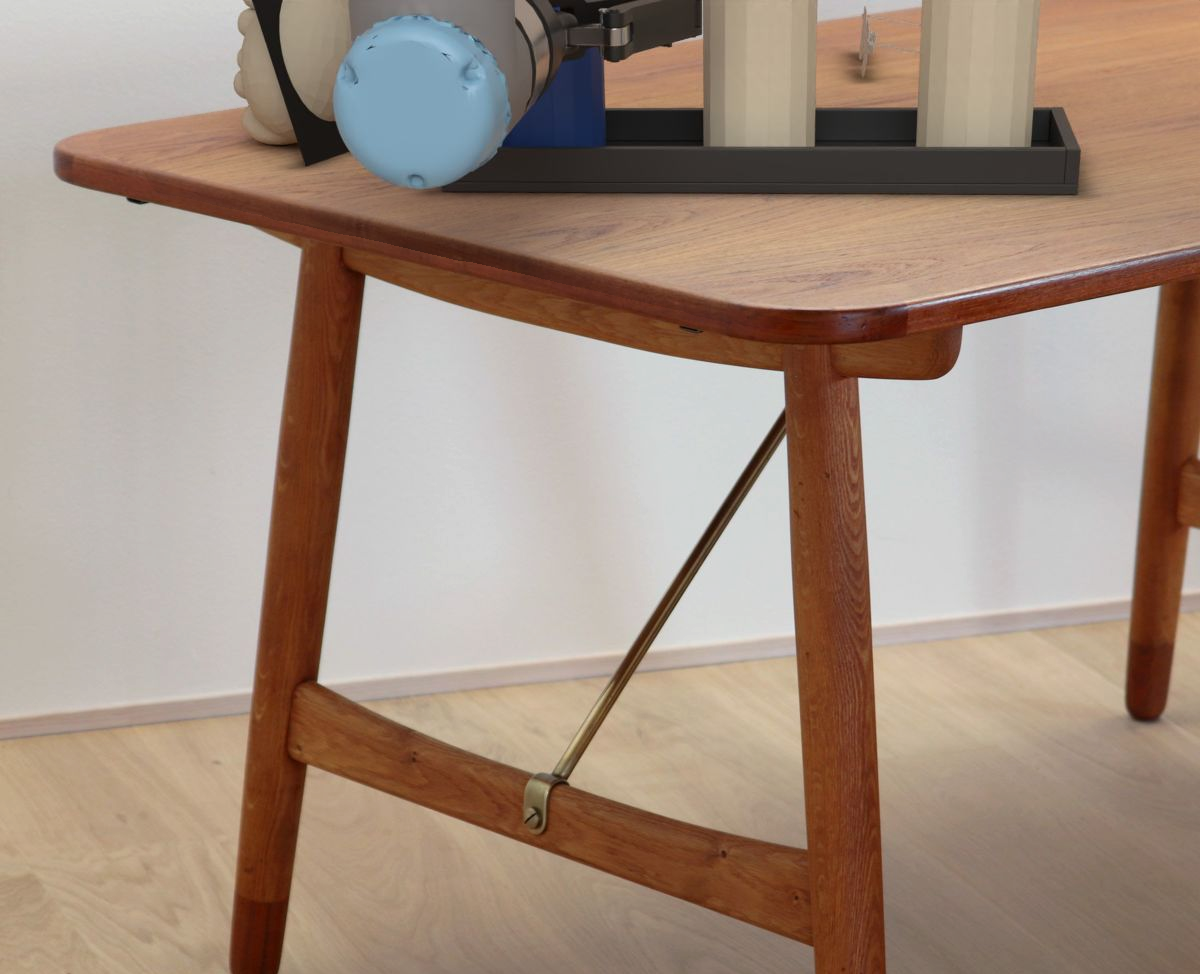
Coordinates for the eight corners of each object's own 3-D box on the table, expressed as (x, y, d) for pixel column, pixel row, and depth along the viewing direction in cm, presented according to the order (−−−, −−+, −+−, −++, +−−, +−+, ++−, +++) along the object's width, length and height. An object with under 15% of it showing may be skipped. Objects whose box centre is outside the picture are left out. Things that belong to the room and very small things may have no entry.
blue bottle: (627, 159, 121) (621, -122, 114) (540, 176, 117) (528, -112, 110) (562, 143, 125) (552, -127, 118) (476, 159, 122) (461, -118, 115)
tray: (1060, 148, 123) (1063, 106, 122) (1077, 194, 111) (1081, 149, 110) (481, 147, 128) (479, 107, 127) (441, 191, 116) (438, 148, 115)
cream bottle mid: (836, 169, 119) (844, -114, 112) (755, 187, 115) (757, -105, 108) (762, 152, 124) (764, -120, 117) (681, 169, 120) (679, -111, 113)
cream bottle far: (1051, 170, 117) (1072, -118, 110) (976, 188, 114) (992, -109, 107) (967, 153, 122) (982, -124, 115) (892, 170, 118) (902, -115, 111)
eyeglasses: (857, 52, 157) (863, 1, 156) (956, 59, 157) (962, 8, 155) (862, 83, 145) (868, 28, 143) (969, 90, 144) (976, 36, 143)
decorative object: (219, 189, 128) (306, 159, 136) (339, 157, 122) (422, 127, 130) (153, -5, 124) (247, -24, 132) (274, -47, 119) (364, -65, 127)
